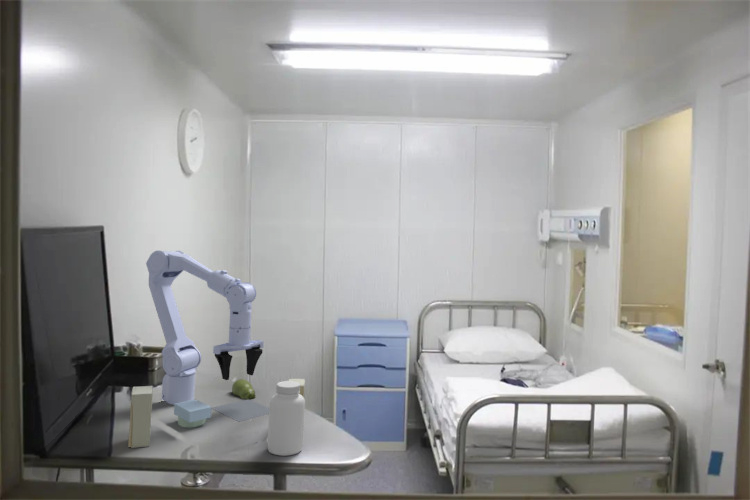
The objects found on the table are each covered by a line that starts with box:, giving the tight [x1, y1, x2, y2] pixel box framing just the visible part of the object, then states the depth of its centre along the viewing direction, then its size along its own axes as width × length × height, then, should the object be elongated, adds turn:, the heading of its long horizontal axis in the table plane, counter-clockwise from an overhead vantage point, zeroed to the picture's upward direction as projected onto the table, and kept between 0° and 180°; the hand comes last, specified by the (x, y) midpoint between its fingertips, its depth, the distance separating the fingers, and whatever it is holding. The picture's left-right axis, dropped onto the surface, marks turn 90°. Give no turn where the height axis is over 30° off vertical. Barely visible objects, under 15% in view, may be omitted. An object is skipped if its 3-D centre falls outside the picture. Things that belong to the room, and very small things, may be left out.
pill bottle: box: [267, 380, 306, 457], centre depth 111 cm, size 8×8×15 cm
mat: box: [211, 399, 270, 423], centre depth 132 cm, size 14×12×1 cm
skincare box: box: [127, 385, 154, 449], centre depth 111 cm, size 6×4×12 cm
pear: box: [231, 378, 256, 400], centre depth 146 cm, size 6×5×10 cm
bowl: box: [177, 416, 207, 428], centre depth 121 cm, size 6×6×3 cm
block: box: [173, 398, 212, 423], centre depth 121 cm, size 8×6×3 cm
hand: (238, 376), depth 133 cm, fingers open, 7 cm apart
